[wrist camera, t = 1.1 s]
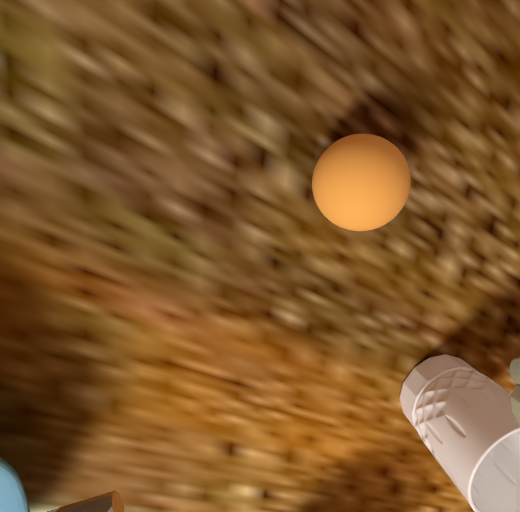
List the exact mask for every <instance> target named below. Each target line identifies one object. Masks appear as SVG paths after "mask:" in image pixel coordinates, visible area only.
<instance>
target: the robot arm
mask: <svg viewBox="0 0 520 512" xmlns="http://www.w3.org/2000/svg"><path fill="white" fill-rule="evenodd" d="M510 378H511V379H512V380H513V381H514V382H515V383H516V384H517V385H516V387H515V389H514V390H513V392H512V394H511V405H512V411H513V413H514V415H515V418H516V420H517V422H518V424H519V425H520V357H518V358H515V359H512V362H511V364H510ZM48 512H124V506H123V503H122V501H121V498H120V495H119V493H118V492H116V491H112V492H108V493H105V494H102V495H99V496H95V497H92V498H89V499H86V500H82V501H79V502H76V503H73V504H69V505H66V506H63V507H60V508H59V509H54V510H51V511H48Z"/></svg>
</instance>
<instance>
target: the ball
mask: <svg viewBox="0 0 520 512" xmlns="http://www.w3.org/2000/svg"><path fill="white" fill-rule="evenodd" d="M410 184H411V177H410V171H409V167H408V164H407V161H406V159H405V158H404V156H403V154H402V153H401V152H400V150H399V149H398V148H397V147H396V146H395V145H394V144H392V143H391V142H389V141H388V140H386V139H384V138H382V137H380V136H376V135H373V134H353V135H349V136H346V137H343V138H341V139H339V140H337V141H336V142H334V143H333V144H332V145H330V146H329V147H328V148H327V149H326V150H325V151H324V152H323V154H322V155H321V156H320V158H319V160H318V161H317V164H316V166H315V169H314V172H313V178H312V189H313V195H314V199H315V201H316V204H317V206H318V207H319V209H320V211H321V212H322V213H323V215H324V216H325V217H326V218H327V219H328V220H330V221H331V222H332V223H334V224H336V225H337V226H339V227H342V228H344V229H348V230H353V231H367V230H372V229H375V228H378V227H380V226H383V225H385V224H386V223H388V222H389V221H391V220H392V219H393V218H394V217H395V216H396V215H397V214H398V213H399V212H400V211H401V209H402V208H403V206H404V204H405V202H406V200H407V198H408V195H409V191H410Z"/></svg>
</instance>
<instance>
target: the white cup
mask: <svg viewBox="0 0 520 512" xmlns="http://www.w3.org/2000/svg"><path fill="white" fill-rule="evenodd" d="M511 394H512V393H510V392H509V391H508V390H506V389H505V388H503V387H501V386H500V385H498V384H497V383H496V382H494V381H493V380H492V379H490V378H489V377H487V376H485V375H484V374H482V373H480V372H478V371H477V370H475V369H474V368H473V367H471V366H470V365H469V364H467V363H466V362H465V361H463V360H462V359H461V358H458V357H454V356H450V355H446V354H444V355H439V356H435V357H430V358H428V359H426V360H425V361H423V362H422V363H420V364H419V365H417V366H416V367H414V368H413V370H412V371H411V372H410V374H409V375H408V377H407V378H406V379H405V381H404V382H403V386H402V390H401V394H400V402H401V406H402V411H403V413H404V414H405V416H406V417H407V418H408V420H409V421H410V422H411V424H412V425H413V426H414V427H415V429H416V430H417V432H418V434H419V435H420V437H421V439H422V440H423V442H424V443H425V445H426V446H427V447H428V449H429V450H430V451H431V453H432V455H433V456H434V458H435V459H436V460H437V462H438V463H439V464H440V466H441V467H442V468H443V470H444V471H445V472H446V474H447V475H448V476H449V478H450V479H451V480H452V482H453V483H454V484H455V486H456V487H457V488H458V490H459V491H460V492H461V494H462V495H463V496H464V498H465V499H466V501H467V502H468V503H469V505H470V506H471V507H472V509H473V510H474V511H475V512H520V425H519V424H518V422H517V420H516V418H515V415H514V413H513V411H512V405H511Z"/></svg>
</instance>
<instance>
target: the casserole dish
mask: <svg viewBox="0 0 520 512" xmlns="http://www.w3.org/2000/svg"><path fill="white" fill-rule="evenodd" d="M0 512H30V511H29V505H28V500H27V496H26V493H25V489H24V486H23V483H22V481H21V479H20V477H19V475H18V473H17V472H16V471H15V470H14V469H13V467H12V466H11V465H9V464H8V463H7V462H6V461H4V460H3V459H1V458H0Z"/></svg>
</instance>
